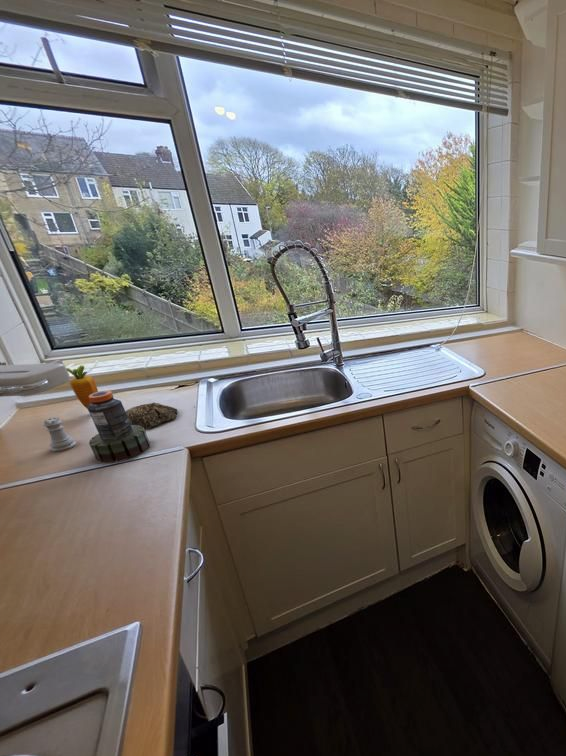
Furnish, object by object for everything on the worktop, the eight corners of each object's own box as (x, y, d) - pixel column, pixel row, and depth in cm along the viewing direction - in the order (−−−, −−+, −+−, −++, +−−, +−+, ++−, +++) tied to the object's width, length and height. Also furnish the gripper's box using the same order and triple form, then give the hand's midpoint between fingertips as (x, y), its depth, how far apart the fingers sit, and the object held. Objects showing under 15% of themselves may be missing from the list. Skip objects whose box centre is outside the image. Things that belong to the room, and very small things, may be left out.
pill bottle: (132, 426, 104) (116, 386, 99) (134, 435, 100) (117, 393, 96) (100, 434, 100) (82, 393, 96) (101, 444, 96) (82, 401, 92)
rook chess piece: (51, 447, 103) (37, 419, 100) (76, 440, 106) (63, 413, 103) (52, 454, 100) (37, 425, 97) (77, 447, 103) (64, 419, 100)
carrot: (79, 416, 118) (57, 368, 112) (97, 408, 122) (77, 362, 116) (93, 418, 117) (72, 369, 111) (111, 410, 122) (92, 363, 116)
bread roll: (111, 426, 113) (104, 410, 111) (157, 407, 124) (151, 392, 122) (145, 433, 110) (138, 417, 108) (189, 413, 121) (184, 398, 119)
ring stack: (94, 467, 96) (86, 450, 94) (99, 448, 103) (92, 432, 101) (149, 453, 101) (142, 437, 99) (150, 437, 108) (144, 421, 107)
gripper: (21, 373, 68) (85, 347, 80) (-131, 379, 65) (-39, 351, 77) (38, 406, 70) (97, 376, 83) (-108, 414, 67) (-23, 381, 80)
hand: (31, 364), depth 80 cm, fingers open, 8 cm apart
